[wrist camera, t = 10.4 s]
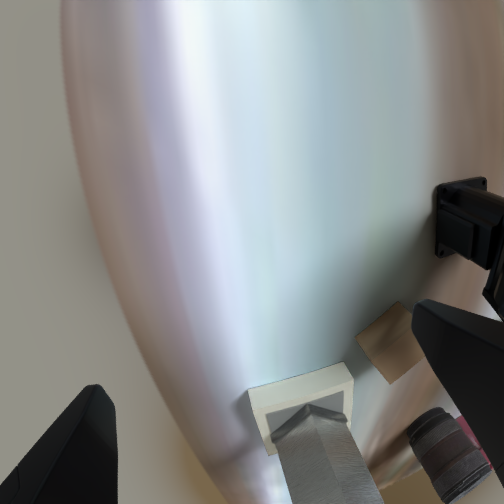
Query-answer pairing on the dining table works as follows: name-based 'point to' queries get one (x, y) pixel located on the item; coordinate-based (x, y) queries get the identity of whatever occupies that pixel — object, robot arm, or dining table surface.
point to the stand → (301, 398)
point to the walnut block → (391, 343)
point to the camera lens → (447, 455)
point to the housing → (323, 459)
